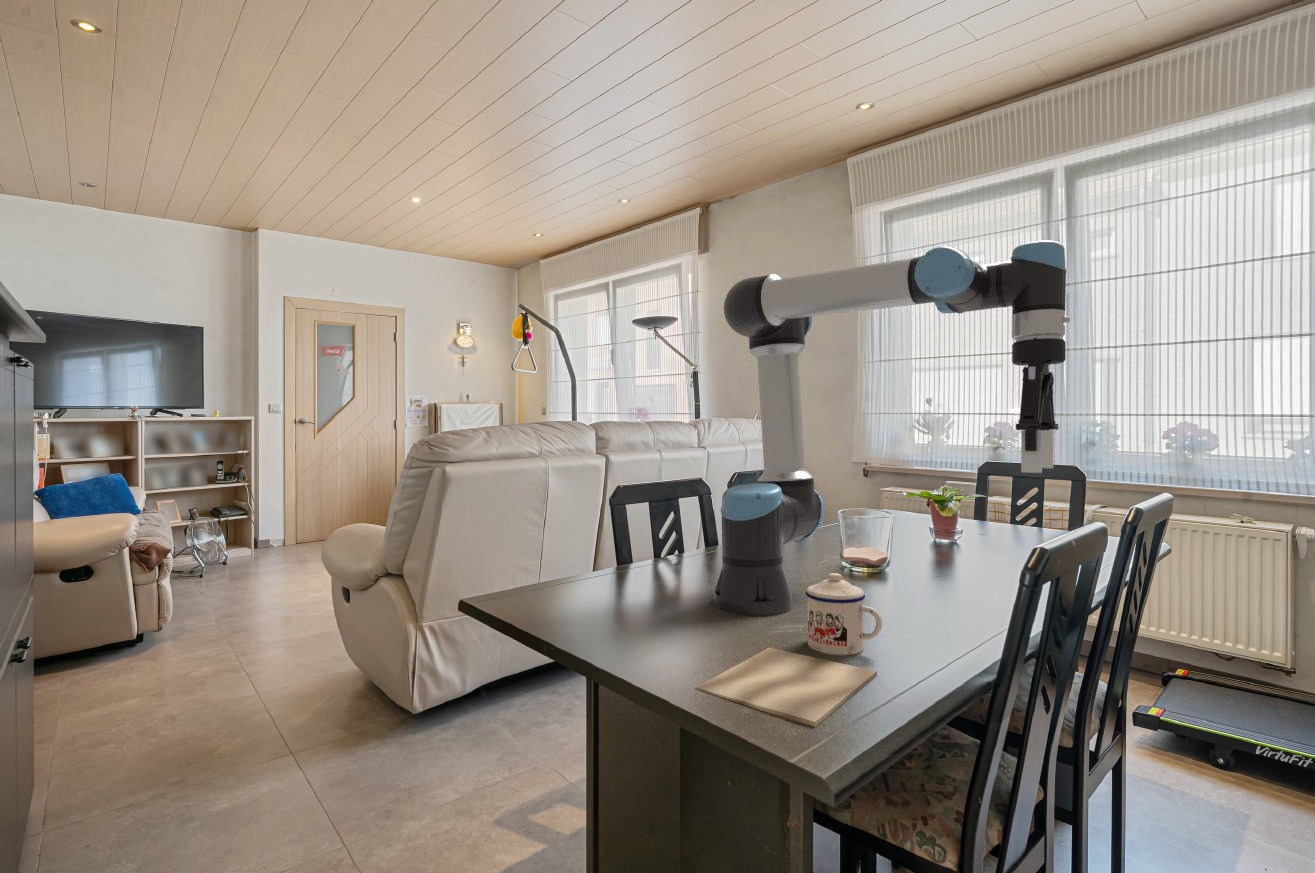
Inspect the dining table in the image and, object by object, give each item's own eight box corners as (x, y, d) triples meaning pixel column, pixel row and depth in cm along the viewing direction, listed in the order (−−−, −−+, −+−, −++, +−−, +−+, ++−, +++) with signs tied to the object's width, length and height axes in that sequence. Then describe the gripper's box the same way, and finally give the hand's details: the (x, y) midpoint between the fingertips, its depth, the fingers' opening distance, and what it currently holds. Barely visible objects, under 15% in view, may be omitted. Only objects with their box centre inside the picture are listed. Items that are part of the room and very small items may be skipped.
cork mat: (695, 692, 86) (695, 687, 86) (769, 651, 102) (769, 647, 102) (815, 726, 76) (815, 721, 76) (877, 675, 91) (876, 671, 91)
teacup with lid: (795, 648, 103) (795, 575, 103) (822, 634, 110) (821, 565, 110) (869, 665, 95) (868, 586, 95) (893, 649, 102) (892, 575, 102)
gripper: (1055, 328, 94) (1055, 475, 94) (1073, 345, 114) (1073, 467, 114) (997, 333, 98) (997, 473, 99) (1024, 348, 118) (1024, 465, 118)
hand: (1038, 470), depth 106 cm, fingers open, 13 cm apart
